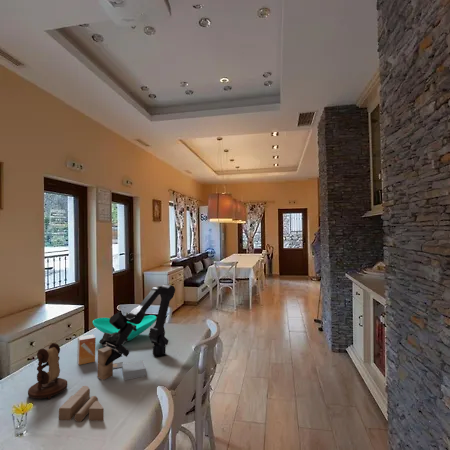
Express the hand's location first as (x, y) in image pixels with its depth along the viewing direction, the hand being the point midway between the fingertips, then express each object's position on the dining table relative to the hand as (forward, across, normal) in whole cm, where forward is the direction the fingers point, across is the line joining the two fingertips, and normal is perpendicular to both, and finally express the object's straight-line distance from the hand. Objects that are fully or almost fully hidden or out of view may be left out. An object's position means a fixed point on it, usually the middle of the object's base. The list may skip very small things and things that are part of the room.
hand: (102, 363), depth 144 cm
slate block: (-3, +8, +13) cm, 16 cm away
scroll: (+20, -6, -10) cm, 23 cm away
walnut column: (+4, 0, +6) cm, 7 cm away
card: (-3, -6, +12) cm, 14 cm away
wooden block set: (+16, +20, -6) cm, 26 cm away
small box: (+2, -24, +8) cm, 25 cm away
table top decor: (-21, -36, +31) cm, 52 cm away
